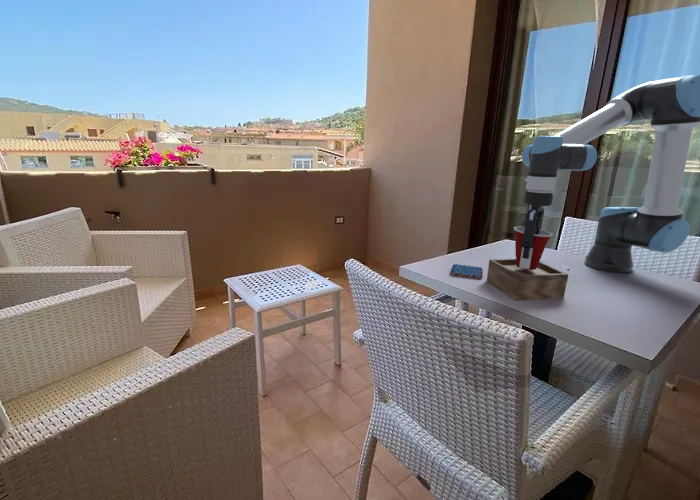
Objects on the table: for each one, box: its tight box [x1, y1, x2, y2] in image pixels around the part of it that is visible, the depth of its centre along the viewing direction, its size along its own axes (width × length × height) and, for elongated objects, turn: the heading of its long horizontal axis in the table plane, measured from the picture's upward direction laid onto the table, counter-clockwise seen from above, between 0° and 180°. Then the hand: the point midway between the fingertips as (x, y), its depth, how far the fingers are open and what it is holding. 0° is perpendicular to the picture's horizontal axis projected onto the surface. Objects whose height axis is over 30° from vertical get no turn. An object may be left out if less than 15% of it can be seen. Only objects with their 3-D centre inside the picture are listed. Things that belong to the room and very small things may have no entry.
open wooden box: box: [486, 258, 569, 301], centre depth 114 cm, size 16×16×8 cm
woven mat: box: [450, 263, 484, 281], centre depth 128 cm, size 10×11×2 cm
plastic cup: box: [513, 226, 553, 270], centre depth 111 cm, size 11×11×12 cm
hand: (527, 264), depth 113 cm, fingers closed on plastic cup, 9 cm apart
